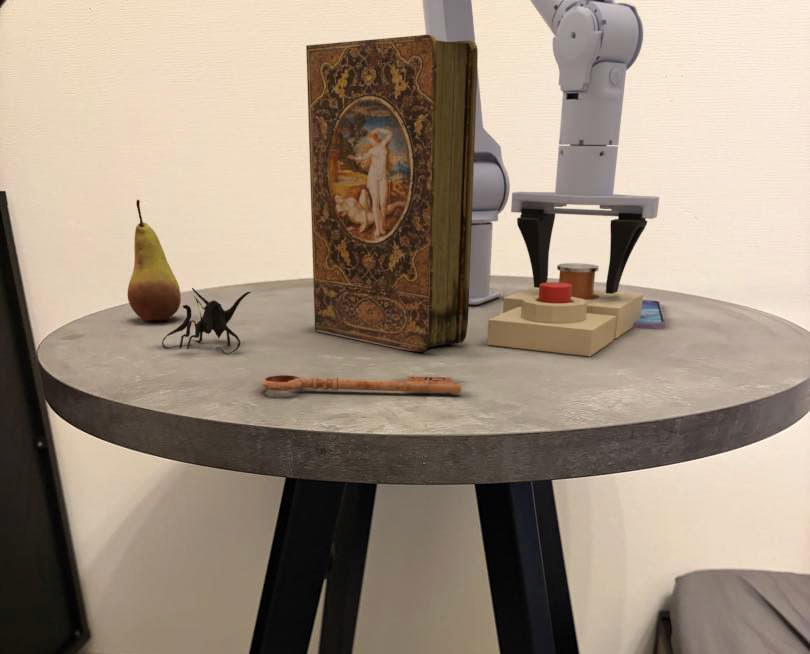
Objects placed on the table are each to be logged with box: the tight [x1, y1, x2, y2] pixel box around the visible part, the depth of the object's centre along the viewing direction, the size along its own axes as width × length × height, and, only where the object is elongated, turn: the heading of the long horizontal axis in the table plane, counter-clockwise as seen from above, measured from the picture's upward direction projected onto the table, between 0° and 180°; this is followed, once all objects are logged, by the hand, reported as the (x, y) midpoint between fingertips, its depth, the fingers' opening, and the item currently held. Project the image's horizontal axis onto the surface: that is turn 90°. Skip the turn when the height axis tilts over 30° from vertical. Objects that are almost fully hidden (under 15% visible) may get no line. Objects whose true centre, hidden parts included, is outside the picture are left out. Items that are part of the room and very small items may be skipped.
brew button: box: [538, 281, 572, 303], centre depth 81 cm, size 3×3×2 cm
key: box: [261, 374, 462, 394], centre depth 66 cm, size 6×1×15 cm
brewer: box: [502, 285, 644, 340], centre depth 91 cm, size 12×10×3 cm
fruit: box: [127, 199, 182, 322], centre depth 89 cm, size 6×6×12 cm
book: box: [305, 34, 479, 353], centre depth 79 cm, size 16×6×25 cm, turn 47°
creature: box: [161, 287, 252, 355], centre depth 79 cm, size 8×5×8 cm
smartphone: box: [631, 299, 666, 330], centre depth 97 cm, size 7×1×15 cm
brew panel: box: [486, 295, 616, 357], centre depth 82 cm, size 10×8×4 cm
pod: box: [556, 262, 600, 300], centre depth 90 cm, size 4×4×6 cm
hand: (575, 289), depth 90 cm, fingers open, 7 cm apart
